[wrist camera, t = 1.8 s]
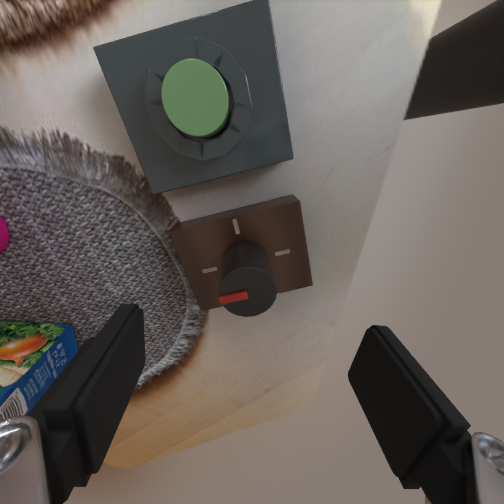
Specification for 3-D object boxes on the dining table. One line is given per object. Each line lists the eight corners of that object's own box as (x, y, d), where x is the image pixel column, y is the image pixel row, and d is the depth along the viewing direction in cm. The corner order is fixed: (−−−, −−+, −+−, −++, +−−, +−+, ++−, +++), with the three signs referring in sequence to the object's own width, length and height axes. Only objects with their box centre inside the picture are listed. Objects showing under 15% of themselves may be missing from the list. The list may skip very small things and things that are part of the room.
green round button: (220, 61, 15) (217, 49, 13) (236, 129, 17) (236, 127, 15) (160, 78, 15) (150, 68, 13) (182, 144, 17) (175, 143, 15)
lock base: (292, 194, 23) (300, 200, 20) (305, 271, 27) (313, 286, 24) (177, 223, 24) (168, 233, 21) (204, 295, 28) (200, 312, 25)
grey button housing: (263, 19, 18) (272, -24, 13) (286, 157, 22) (299, 159, 17) (115, 62, 19) (74, 34, 14) (163, 188, 23) (144, 199, 18)
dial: (263, 234, 22) (271, 262, 16) (272, 275, 23) (282, 312, 18) (217, 246, 22) (210, 277, 17) (230, 285, 24) (227, 324, 18)
